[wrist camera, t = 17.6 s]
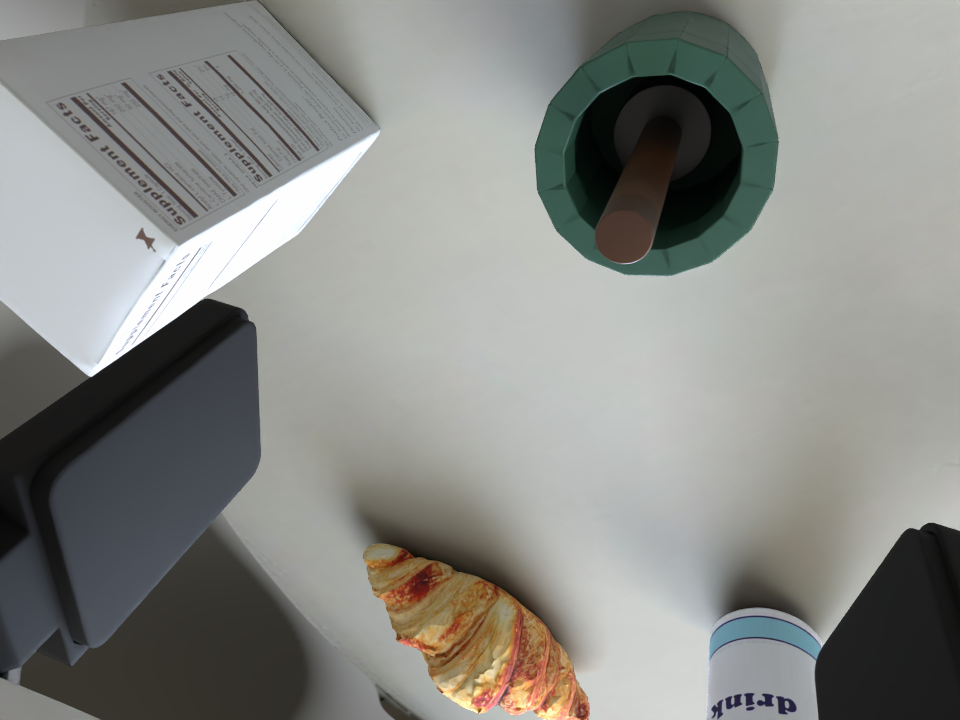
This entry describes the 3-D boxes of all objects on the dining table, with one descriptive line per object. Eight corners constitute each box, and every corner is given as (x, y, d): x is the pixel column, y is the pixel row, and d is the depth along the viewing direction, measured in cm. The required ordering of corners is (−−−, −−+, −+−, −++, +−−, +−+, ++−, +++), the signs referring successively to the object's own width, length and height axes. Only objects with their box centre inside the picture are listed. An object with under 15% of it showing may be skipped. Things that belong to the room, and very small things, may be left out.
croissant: (377, 523, 58) (317, 608, 55) (403, 503, 49) (333, 604, 46) (581, 671, 59) (535, 765, 56) (642, 679, 50) (592, 791, 47)
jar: (549, 114, 35) (491, 171, 26) (675, -33, 30) (652, -20, 22) (667, 228, 36) (647, 316, 28) (807, 103, 31) (832, 163, 23)
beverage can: (799, 587, 44) (816, 772, 35) (837, 662, 47) (864, 856, 37) (693, 604, 48) (682, 777, 38) (733, 673, 50) (733, 854, 40)
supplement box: (256, -8, 36) (-43, 30, 22) (387, 128, 37) (184, 242, 24) (178, 125, 41) (-102, 222, 27) (296, 240, 43) (86, 386, 29)
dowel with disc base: (607, 117, 33) (523, 236, 20) (671, 48, 31) (623, 132, 18) (666, 176, 34) (623, 329, 21) (734, 112, 32) (732, 239, 18)
